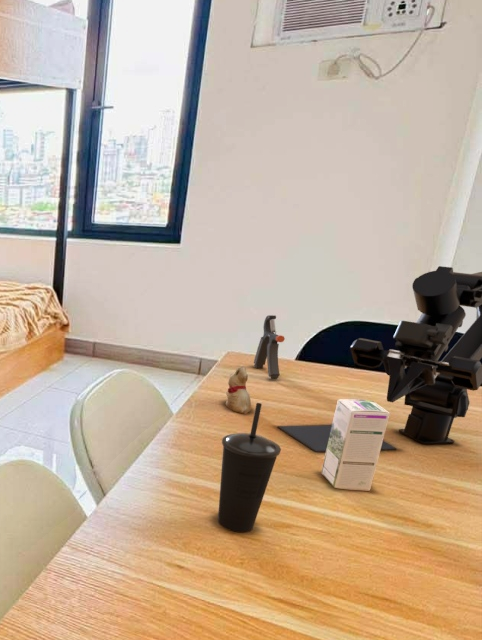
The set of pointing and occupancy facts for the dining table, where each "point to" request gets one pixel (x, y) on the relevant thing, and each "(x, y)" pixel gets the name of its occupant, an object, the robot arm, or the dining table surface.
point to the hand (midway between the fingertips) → (389, 400)
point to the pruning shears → (269, 348)
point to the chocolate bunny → (238, 392)
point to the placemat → (317, 436)
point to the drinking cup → (244, 476)
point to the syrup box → (354, 444)
